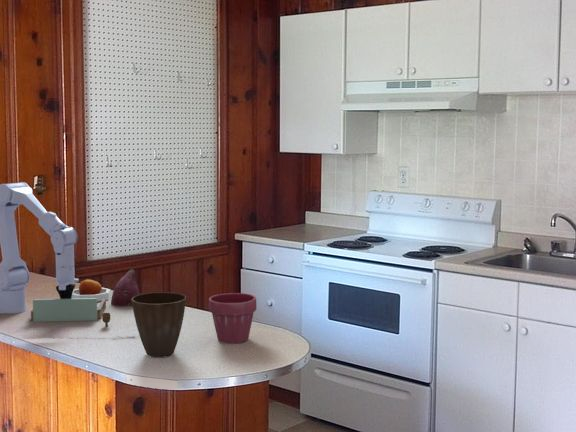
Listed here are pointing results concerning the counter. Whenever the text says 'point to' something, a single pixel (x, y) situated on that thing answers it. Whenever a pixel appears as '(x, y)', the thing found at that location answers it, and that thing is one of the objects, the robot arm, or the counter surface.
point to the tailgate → (64, 309)
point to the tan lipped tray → (99, 310)
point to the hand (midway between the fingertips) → (66, 307)
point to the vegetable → (125, 290)
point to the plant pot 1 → (159, 321)
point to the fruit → (89, 287)
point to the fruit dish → (102, 295)
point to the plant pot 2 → (232, 316)
